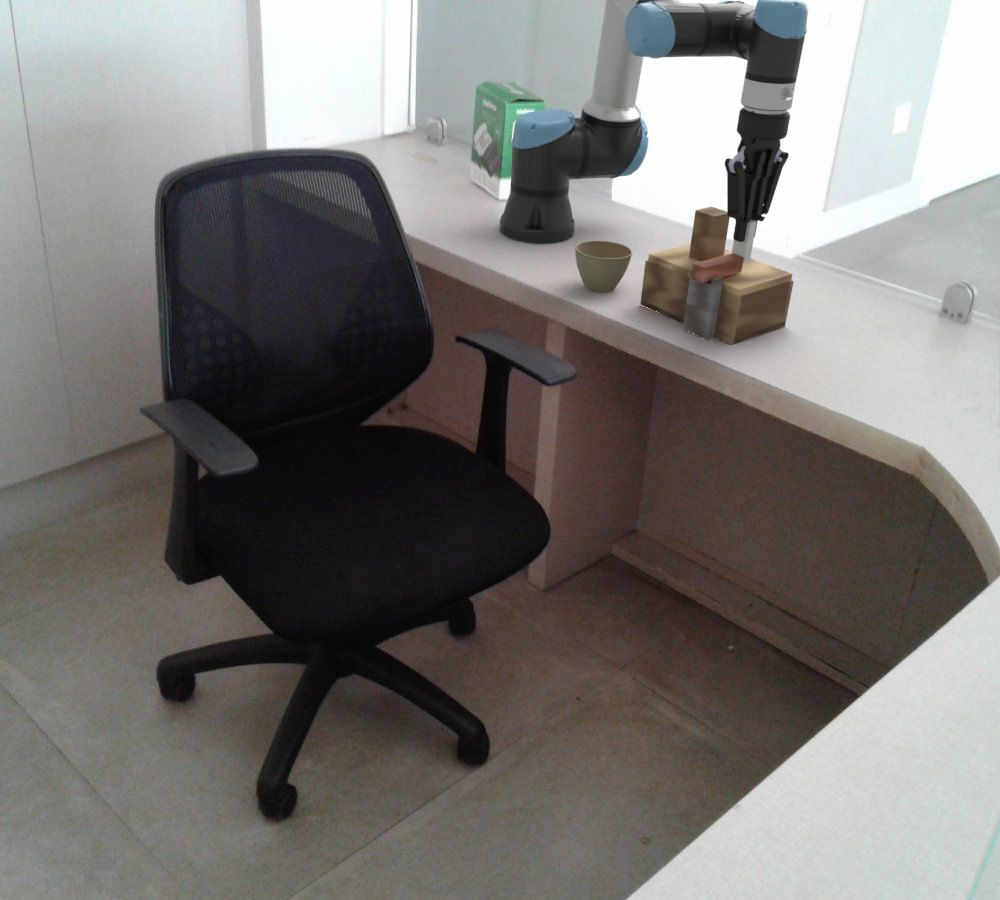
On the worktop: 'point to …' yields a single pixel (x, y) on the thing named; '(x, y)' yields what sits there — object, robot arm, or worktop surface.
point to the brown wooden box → (714, 305)
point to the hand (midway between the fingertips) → (740, 259)
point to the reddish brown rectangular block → (717, 267)
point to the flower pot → (602, 264)
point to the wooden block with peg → (711, 245)
